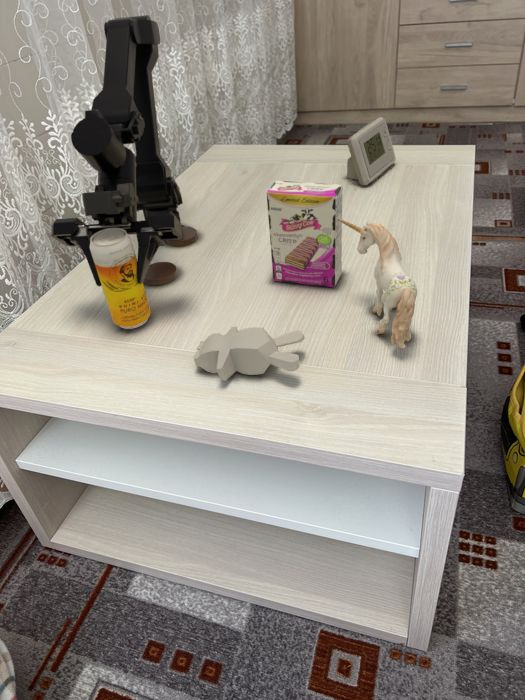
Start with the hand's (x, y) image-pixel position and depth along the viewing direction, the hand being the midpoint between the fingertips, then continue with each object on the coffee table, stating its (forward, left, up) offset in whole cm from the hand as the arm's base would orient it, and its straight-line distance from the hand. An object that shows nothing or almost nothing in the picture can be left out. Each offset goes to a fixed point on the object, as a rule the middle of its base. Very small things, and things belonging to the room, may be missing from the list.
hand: (119, 284), depth 83 cm
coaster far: (-10, +28, -8) cm, 31 cm away
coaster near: (-5, +15, -8) cm, 17 cm away
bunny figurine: (+22, -1, -8) cm, 24 cm away
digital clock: (+15, +70, -8) cm, 72 cm away
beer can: (-1, +1, -8) cm, 8 cm away
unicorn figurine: (+34, +15, -8) cm, 39 cm away
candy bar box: (+20, +23, -8) cm, 32 cm away
